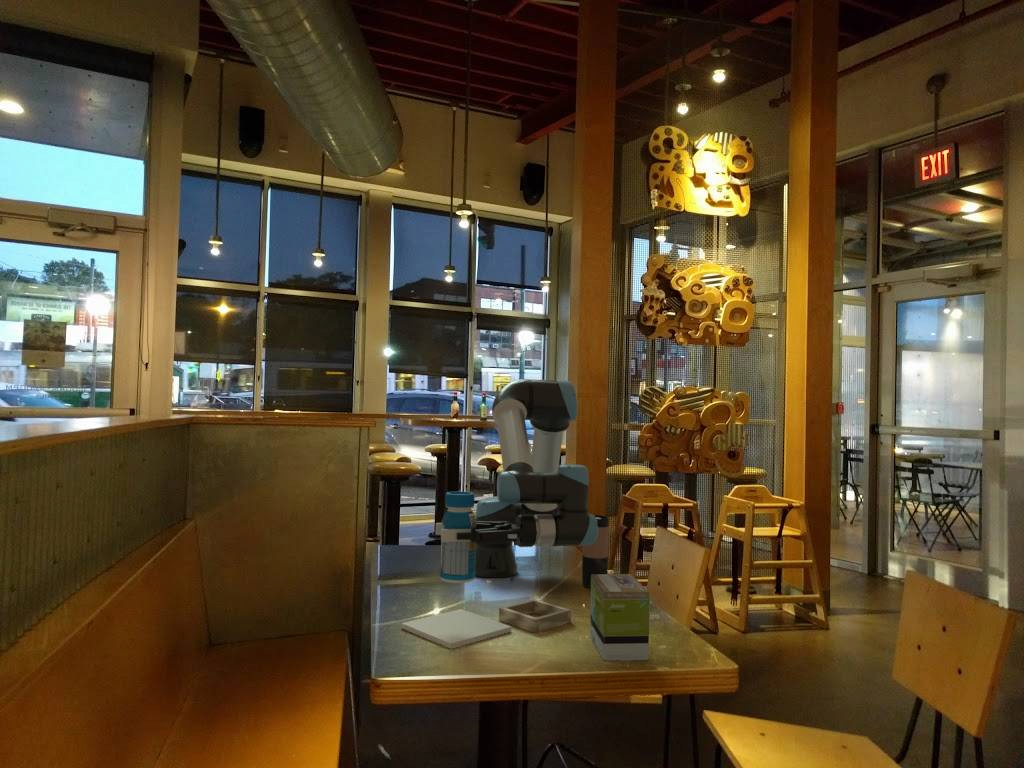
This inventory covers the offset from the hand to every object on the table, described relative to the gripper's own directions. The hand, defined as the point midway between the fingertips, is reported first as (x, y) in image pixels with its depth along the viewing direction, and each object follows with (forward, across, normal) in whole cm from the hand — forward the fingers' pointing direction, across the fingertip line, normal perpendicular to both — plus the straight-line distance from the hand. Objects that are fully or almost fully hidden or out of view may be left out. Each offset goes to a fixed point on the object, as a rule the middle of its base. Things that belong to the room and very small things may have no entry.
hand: (438, 532), depth 164 cm
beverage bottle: (-5, 0, -11) cm, 12 cm away
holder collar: (-25, +4, -23) cm, 34 cm away
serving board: (-5, 0, -23) cm, 23 cm away
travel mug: (-52, +34, -23) cm, 66 cm away
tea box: (-37, -18, -23) cm, 47 cm away
